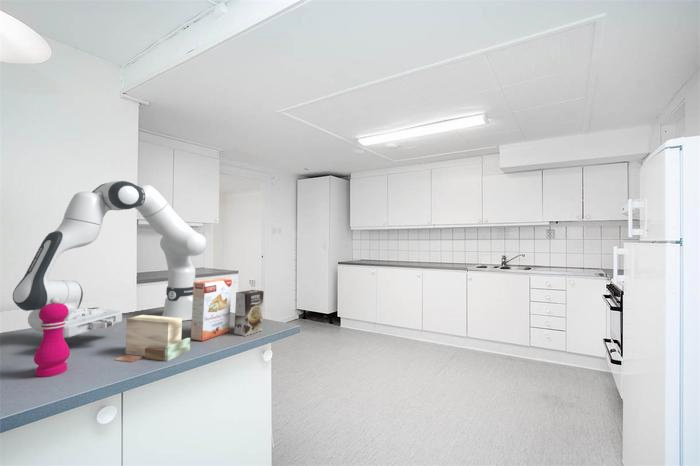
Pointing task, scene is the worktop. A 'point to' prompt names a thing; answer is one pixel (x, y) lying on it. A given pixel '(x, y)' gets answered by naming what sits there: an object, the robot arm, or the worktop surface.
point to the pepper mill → (52, 340)
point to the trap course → (161, 352)
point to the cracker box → (210, 308)
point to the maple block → (151, 333)
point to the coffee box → (248, 312)
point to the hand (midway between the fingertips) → (109, 324)
